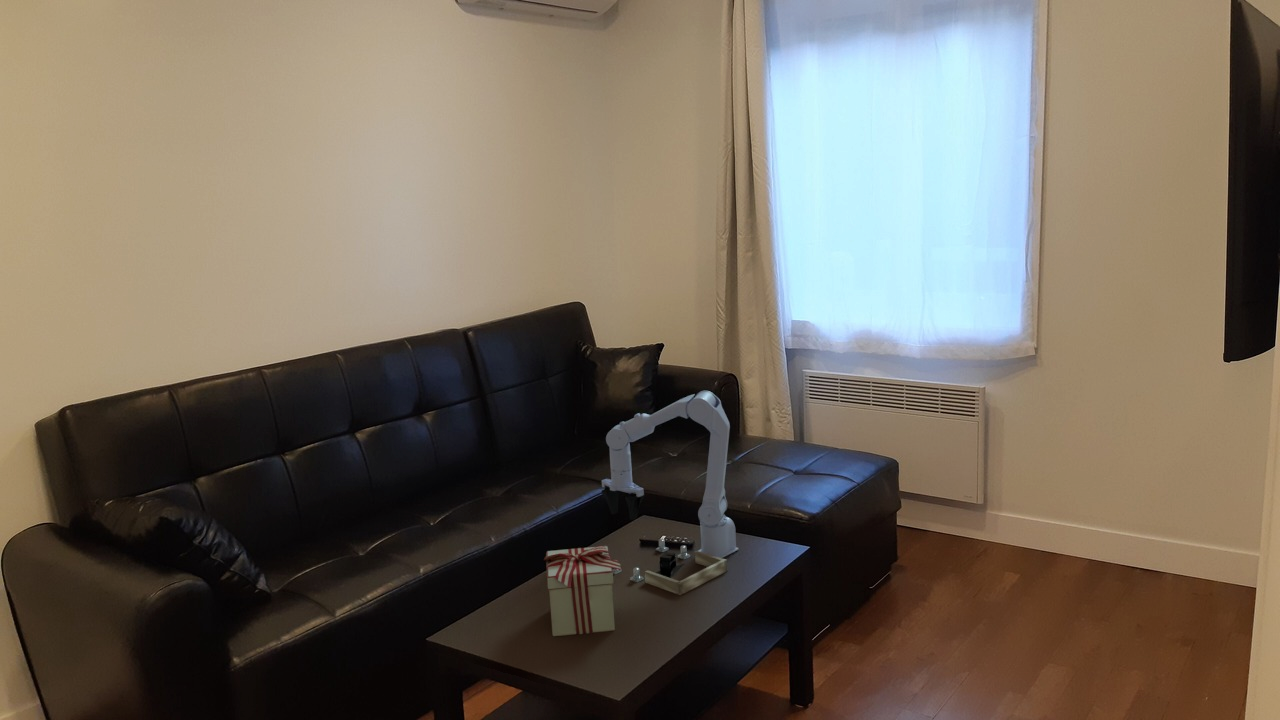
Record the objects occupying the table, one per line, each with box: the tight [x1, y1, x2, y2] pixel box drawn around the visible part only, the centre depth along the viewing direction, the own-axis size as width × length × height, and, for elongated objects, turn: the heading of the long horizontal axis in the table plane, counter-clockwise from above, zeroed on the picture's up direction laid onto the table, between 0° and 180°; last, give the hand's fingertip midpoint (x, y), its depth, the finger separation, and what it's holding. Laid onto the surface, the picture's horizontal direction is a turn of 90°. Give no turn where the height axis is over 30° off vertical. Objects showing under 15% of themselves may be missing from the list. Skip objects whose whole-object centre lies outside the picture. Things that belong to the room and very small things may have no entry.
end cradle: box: [644, 550, 728, 596], centre depth 241 cm, size 18×12×3 cm, turn 135°
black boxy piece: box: [654, 551, 685, 579], centre depth 247 cm, size 12×7×5 cm, turn 155°
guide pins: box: [612, 538, 691, 583], centre depth 250 cm, size 20×10×3 cm, turn 135°
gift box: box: [543, 545, 622, 637], centre depth 219 cm, size 17×18×17 cm
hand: (624, 516), depth 261 cm, fingers open, 7 cm apart
